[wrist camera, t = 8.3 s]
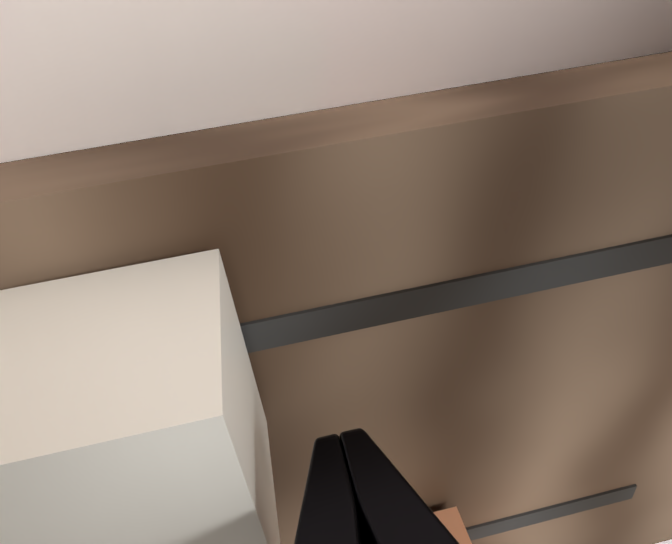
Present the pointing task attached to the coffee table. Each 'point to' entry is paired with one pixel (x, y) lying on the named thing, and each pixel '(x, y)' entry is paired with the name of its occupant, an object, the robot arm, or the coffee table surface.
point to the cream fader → (131, 411)
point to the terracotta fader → (454, 524)
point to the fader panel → (423, 284)
